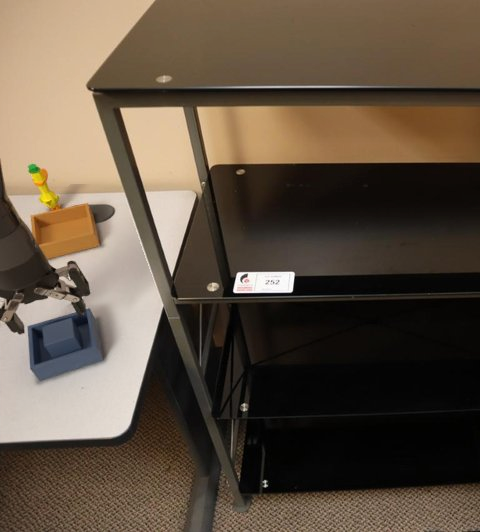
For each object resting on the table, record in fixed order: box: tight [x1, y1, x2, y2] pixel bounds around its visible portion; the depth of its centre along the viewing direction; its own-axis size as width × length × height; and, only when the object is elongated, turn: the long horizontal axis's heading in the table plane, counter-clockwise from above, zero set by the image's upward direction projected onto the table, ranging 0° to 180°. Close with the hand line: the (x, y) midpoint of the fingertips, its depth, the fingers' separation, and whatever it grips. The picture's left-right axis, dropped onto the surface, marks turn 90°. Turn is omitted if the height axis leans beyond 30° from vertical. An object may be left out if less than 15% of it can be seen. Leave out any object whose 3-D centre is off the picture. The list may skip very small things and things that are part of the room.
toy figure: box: [27, 163, 62, 211], centre depth 110 cm, size 7×4×12 cm, turn 18°
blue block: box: [42, 318, 83, 359], centre depth 87 cm, size 4×4×4 cm
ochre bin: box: [30, 202, 101, 260], centre depth 107 cm, size 11×11×4 cm
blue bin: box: [27, 307, 104, 382], centre depth 88 cm, size 10×10×4 cm
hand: (51, 321), depth 84 cm, fingers open, 8 cm apart
